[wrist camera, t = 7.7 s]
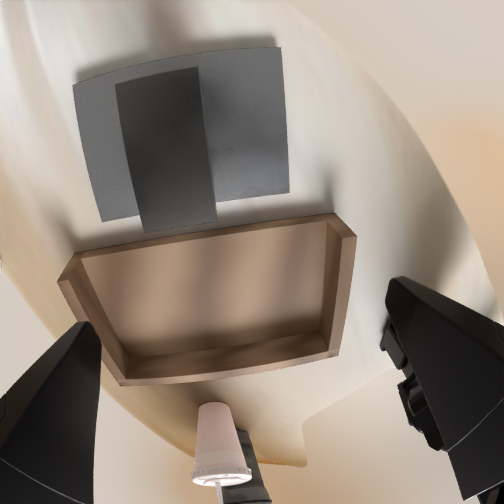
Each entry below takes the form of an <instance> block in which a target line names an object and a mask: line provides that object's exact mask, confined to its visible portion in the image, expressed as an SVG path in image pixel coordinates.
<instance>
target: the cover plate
mask: <svg viewBox="0 0 504 504" xmlns="http://www.w3.org/2000/svg"><path fill="white" fill-rule="evenodd" d="M72 86H73V94H74V101H75V108H76V114H77V120H78V126H79V131H80V136H81V141H82V146H83V151H84V156H85V160H86V164H87V169H88V173H89V177H90V181H91V185H92V188H93V192H94V196H95V199H96V203H97V206H98V210H99V213H100V217H101V220H102V222H106V221H111V220H116V219H121V218H127V217H132V216H137V215H140V218H141V222H142V225H143V229H144V233H148V232H154V231H160V230H166V229H172V228H178V227H185V226H191V225H197V224H204V223H211V222H217V221H218V220H217V211H216V202H222V201H229V200H236V199H244V198H251V197H259V196H267V195H276V194H284V193H290V191H289V165H288V143H287V125H286V108H285V93H284V80H283V67H282V55H281V47H272V48H245V49H231V50H221V51H211V52H203V53H196V54H189V55H183V56H177V57H172V58H166V59H161V60H156V61H152V62H147V63H143V64H139V65H135V66H131V67H127V68H124V69H120V70H116V71H113V72H110V73H106V74H103V75H100V76H97V77H94V78H91V79H88V80H85V81H82V82H80V83H77V84H74V85H72Z"/></svg>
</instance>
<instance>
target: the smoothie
mask: <svg viewBox="0 0 504 504" xmlns="http://www.w3.org/2000/svg"><path fill="white" fill-rule="evenodd" d="M191 475H192V481H193V482H194V483H196V484H199V485H205V486H216V492H217V500H218V504H223V497H222V490H221V486H229V485H236V484H240V483H244V482H247V481H249V480H250V479H251V478H252V476H251V469H249V468H247V465H246V462H245V458H244V455H243V452H242V449H241V446H240V442H239V439H238V436H237V432H236V429H235V425H234V422H233V419H232V415H231V411H230V408H229V406H228V405H227V404H225V403H221V402H209V403H205V404H203V405H201V406H200V407H199V414H198V426H197V438H196V451H195V466H194V471H193V472H192V473H191Z"/></svg>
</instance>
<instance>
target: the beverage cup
mask: <svg viewBox="0 0 504 504" xmlns="http://www.w3.org/2000/svg"><path fill="white" fill-rule="evenodd" d="M236 432H237V436H238V439H239V442H240V446H241V449H242V452H243V455H244V458H245V462H246V465H247V468H249V469H251V476H252V478H251V479H250V480H249V481H247V482H244V483H240V484H236V485H229V486H221V490H222V497H223V504H271V502H272V500H270V497H269V494H268V492H267V490H266V488H265V487H264V484H263V480H262V477H261V474H260V470H259V467H258V463H257V460H256V457H255V453H254V450H253V446H252V443H251V441H250V438H249V434H248V433H247V432H244V431H236Z"/></svg>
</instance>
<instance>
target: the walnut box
mask: <svg viewBox="0 0 504 504" xmlns="http://www.w3.org/2000/svg"><path fill="white" fill-rule="evenodd" d="M356 241H357V236H356V234H355V233H354V232H353V231H352V230H351V229H350V228H349V227H348V226H347V225H346V224H345V223H344V222H343V221H342V220H341V219H340V218H339V217H338V216H337V215H336V214H335V213H330V214H322V215H314V216H307V217H299V218H291V219H284V220H277V221H269V222H262V223H255V224H248V225H241V226H234V227H228V228H221V229H214V230H208V231H201V232H195V233H189V234H182V235H176V236H170V237H164V238H158V239H152V240H146V241H140V242H135V243H129V244H123V245H118V246H112V247H106V248H101V249H96V250H90V251H85V252H80V253H74V255H73V256H72V258H71V260H70V261H69V263H68V264H67V266H66V267H65V269H64V271H63V272H62V274H61V276H60V277H59V279H58V281H57V283H58V285H59V287H60V289H61V291H62V293H63V295H64V297H65V299H66V301H67V303H68V305H69V307H70V308H71V310H72V312H73V314H74V316H75V317H76V319H77V321H78V322H79V321H89V322H90V323H91V324H92V325H93V327H94V329H95V331H96V333H97V334H98V336H99V338H100V340H101V343H102V355H101V359H102V361H103V362H104V364H105V365H106V367H107V368H108V370H109V371H110V372H111V374H112V375H113V377H114V378H115V379H116V381H117V382H118V384H119V385H120V386H143V385H161V384H174V383H186V382H196V381H205V380H213V379H221V378H228V377H235V376H242V375H248V374H254V373H260V372H266V371H271V370H276V369H281V368H286V367H291V366H296V365H301V364H305V363H310V362H314V361H318V360H322V359H326V358H330V357H334V356H338V354H339V349H340V344H341V339H342V334H343V329H344V324H345V318H346V312H347V307H348V300H349V294H350V288H351V281H352V274H353V266H354V258H355V250H356Z"/></svg>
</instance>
